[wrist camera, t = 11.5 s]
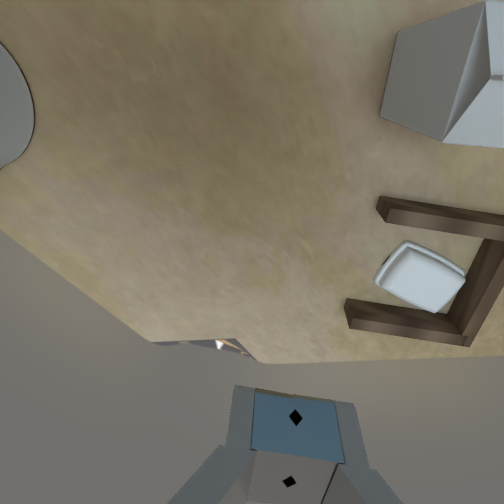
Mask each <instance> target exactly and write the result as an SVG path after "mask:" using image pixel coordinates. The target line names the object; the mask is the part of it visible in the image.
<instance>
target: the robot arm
mask: <svg viewBox="0 0 504 504" xmlns="http://www.w3.org/2000/svg"><path fill="white" fill-rule="evenodd" d="M33 124H34V112H33V104H32V99H31V95H30V92H29V89H28V86H27V84H26V81H25V79H24V77H23V75H22V73H21V71H20V69H19V67H18V66H17V64H16V63H15V61H14V60H13V58H12V57H11V56H10V54H9V53H8V52H7V50H6V49H5V48H4V47H3V46H2V45H1V44H0V169H1V168H2V167H3V166H5V165H7V164H8V163H10V162H12V161H14V160H15V159H16V158H18V157H19V156H20V155H21V154H22V153H23V151H24V150H25V149H26V147H27V145H28V143H29V141H30V138H31V135H32V131H33ZM246 500H247V501H256V502H263V503H271V504H404V503H403V502H402V501H401V500H400V498H399V497H398V496H397V495H396V493H395V492H394V491H393V490H392V488H391V487H390V486H389V485H388V484H387V483H386V481H385V480H384V479H383V477H382V476H381V475H380V474H379V472H378V471H377V470H375V469H370V467H369V463H368V459H367V454H366V450H365V446H364V441H363V437H362V433H361V429H360V424H359V420H358V416H357V412H356V408H355V406H354V404H353V403H348V402H341V401H335V400H330V399H323V398H316V397H309V396H301V395H295V394H293V395H291V394H286V393H281V392H275V391H270V390H264V389H259V388H255V389H254V388H252V387H246V386H241V385H235V386H234V390H233V397H232V403H231V409H230V415H229V422H228V427H227V434H226V440H225V446H222V445H219V446H218V447H217V448H216V449H215V450H214V451H213V453H212V454H211V455H210V456H209V457H208V458H207V459H206V461H205V462H204V463H203V464H202V465H201V466H200V467H199V468H198V469H197V470H196V472H195V473H194V474H193V475H192V476H191V477H190V478H189V479H188V481H187V482H186V483H185V484H184V485H183V486H182V487H181V488H180V490H179V491H178V492H177V493H176V494H175V495H174V496H173V497H172V498H171V499H170V501H169V502H168V503H167V504H245V503H246Z"/></svg>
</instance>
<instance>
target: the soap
mask: <svg viewBox="0 0 504 504" xmlns="http://www.w3.org/2000/svg"><path fill="white" fill-rule="evenodd" d="M464 274H465V273H464V271H463V270H462V269H461V268H460V267H459V266H457V265H456V264H454V263H453V262H451V261H450V260H448V259H446V258H445V257H443V256H441V255H439V254H437V253H435V252H434V251H432V250H429V249H427V248H425V247H423V246H421V245H418V244H416V243H413V242H410V241H408V240H405V241H403V242H401V243H400V244H399V245H398V246H397V247H396V248H395V249H394V250H393V252H392V253H391V254H390V257H389V258H388V259H387V261H386V262H385V263H384V265H383V264H382V265H381V267H380V268H379V270H378V271H377V273H376V275H375V276H374V279H373V280H374V282H375V284H376V285H378V286H380V287H381V288H383V289H384V290H386V291H388V292H389V293H391V294H393V295H395V296H396V297H398V298H400V299H402V300H404V301H406V302H408V303H410V304H412V305H415V306H417V307H419V308H422V309H424V310H426V311H429V312H432V313H436V312H438V311H439V310H440V309H441V308H442V307H443V306H444V305H445V304H446V303H447V302H448V301H449V300H450V299H451V298H452V297H453V296H454V295H455V294H456V293H457V292H458V290H459V289H460V288H461V287H462V285H463V284H464V283H465V281H466V279H465V277H464Z"/></svg>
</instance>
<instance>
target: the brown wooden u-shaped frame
mask: <svg viewBox="0 0 504 504" xmlns="http://www.w3.org/2000/svg"><path fill="white" fill-rule="evenodd" d="M376 210H377V211H378V213H379V214H380V216H381V217H382V218H383V220H384V221H385V222H386V223H392V224H398V225H404V226H411V227H417V228H423V229H430V230H436V231H442V232H449V233H455V234H461V235H468V236H474V237H480V238H485V239H484V241H483V243H482V245H481V247H480V249H479V251H478V253H477V255H476V257H475V259H474V261H473V263H472V265H471V267H470V269H469V271H468V273H467V275H466V277H465V279H466V281H465V283H464V284H463V285H462V287H461V288H460V290H459V292H458V294H457V296H456V298H455V300H454V302H453V304H452V306H451V308H450V310H449V312H448V314H442V313H432V312H429V311H423V310H417V309H411V308H404V307H398V306H392V305H385V304H379V303H373V302H366V301H360V300H353V299H347V300H346V303H345V306H344V310H345V314H346V318H347V321H348V325H349V328H350V329H357V330H363V331H370V332H376V333H382V334H389V335H395V336H401V337H408V338H414V339H420V340H427V341H433V342H439V343H446V344H452V345H459V346H465V347H470V345H471V344H472V342H473V340H474V338H475V336H476V335H477V333H478V331H479V329H480V328H481V326H482V324H483V322H484V320H485V319H486V317H487V315H488V313H489V311H490V310H491V308H492V306H493V304H494V302H495V301H496V299H497V297H498V295H499V294H500V292H501V290H502V288H503V286H504V215H498V214H491V213H485V212H479V211H472V210H466V209H460V208H453V207H447V206H441V205H434V204H428V203H422V202H415V201H409V200H403V199H396V198H390V197H384V196H380V197H379V200H378V203H377V206H376Z"/></svg>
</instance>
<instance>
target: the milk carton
mask: <svg viewBox="0 0 504 504" xmlns="http://www.w3.org/2000/svg"><path fill="white" fill-rule="evenodd" d="M380 117H382V118H384V119H387V120H389V121H392V122H394V123H396V124H399V125H401V126H404V127H406V128H409V129H411V130H414V131H416V132H418V133H421V134H423V135H426V136H428V137H431V138H433V139H435V140H438V141H440V142H443V143H449V144H460V145H472V146H484V147H497V148H504V1H498V0H487V1H483V2H479V3H476V4H474V5H471V6H468V7H465V8H463V9H460V10H457V11H454V12H452V13H449V14H446V15H443V16H441V17H438V18H435V19H432V20H430V21H427V22H424V23H421V24H419V25H416V26H413V27H410V28H408V29H405V30H402V31H399V32H398V34H397V38H396V43H395V47H394V52H393V56H392V61H391V65H390V70H389V75H388V79H387V84H386V88H385V93H384V97H383V102H382V106H381V111H380Z"/></svg>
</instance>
